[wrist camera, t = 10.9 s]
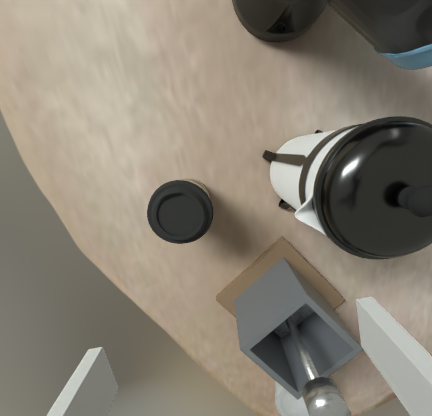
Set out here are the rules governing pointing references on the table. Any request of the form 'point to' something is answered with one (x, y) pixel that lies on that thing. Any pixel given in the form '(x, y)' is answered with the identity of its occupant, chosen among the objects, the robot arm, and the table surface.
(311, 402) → the plunger
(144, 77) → the table surface
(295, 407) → the ramekin
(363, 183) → the coffee press
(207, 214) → the coffee cup
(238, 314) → the square grey bin
